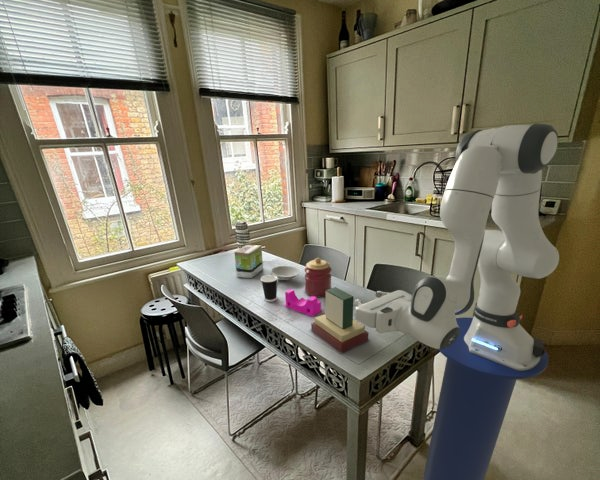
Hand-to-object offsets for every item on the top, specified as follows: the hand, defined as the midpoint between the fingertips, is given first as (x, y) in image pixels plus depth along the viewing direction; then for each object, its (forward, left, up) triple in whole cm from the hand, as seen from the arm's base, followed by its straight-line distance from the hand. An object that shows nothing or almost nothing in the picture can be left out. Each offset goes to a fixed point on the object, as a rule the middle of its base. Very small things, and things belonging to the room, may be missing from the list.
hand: (366, 297), depth 102 cm
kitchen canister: (+49, -17, -22) cm, 56 cm away
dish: (+72, -12, -22) cm, 76 cm away
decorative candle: (+115, -8, -22) cm, 117 cm away
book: (+13, 0, -15) cm, 20 cm away
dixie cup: (+56, +6, -22) cm, 61 cm away
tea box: (+93, -1, -22) cm, 96 cm away
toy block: (+39, -1, -22) cm, 45 cm away
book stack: (+13, 0, -21) cm, 25 cm away
